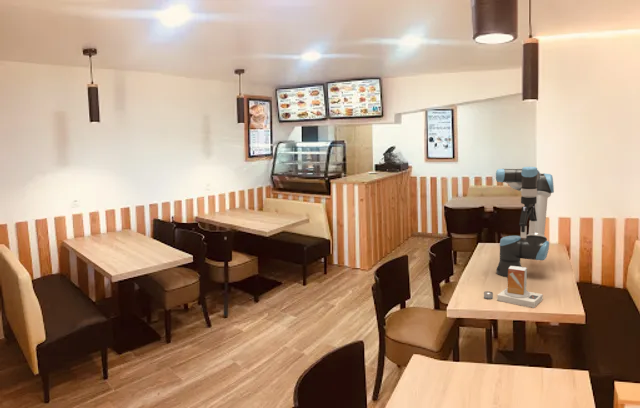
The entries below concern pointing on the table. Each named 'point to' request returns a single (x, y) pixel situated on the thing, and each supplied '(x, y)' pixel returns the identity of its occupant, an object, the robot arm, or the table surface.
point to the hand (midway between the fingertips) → (527, 235)
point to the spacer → (488, 295)
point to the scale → (520, 298)
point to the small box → (517, 280)
